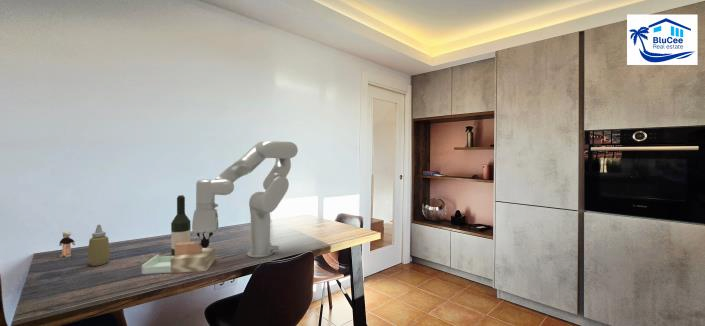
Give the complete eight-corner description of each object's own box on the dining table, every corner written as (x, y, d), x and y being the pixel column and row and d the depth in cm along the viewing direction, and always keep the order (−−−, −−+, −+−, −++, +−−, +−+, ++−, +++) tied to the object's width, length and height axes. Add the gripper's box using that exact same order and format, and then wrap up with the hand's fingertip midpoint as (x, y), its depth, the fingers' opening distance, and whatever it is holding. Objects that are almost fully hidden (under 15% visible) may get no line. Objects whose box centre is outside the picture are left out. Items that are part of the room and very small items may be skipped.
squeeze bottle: (114, 262, 136) (114, 223, 135) (94, 268, 128) (94, 227, 128) (103, 260, 138) (103, 222, 138) (82, 265, 131) (82, 226, 130)
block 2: (202, 251, 133) (202, 241, 133) (199, 253, 129) (199, 243, 129) (190, 251, 132) (190, 241, 132) (187, 254, 128) (187, 244, 128)
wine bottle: (181, 258, 141) (181, 196, 140) (167, 257, 142) (166, 196, 142) (194, 253, 149) (194, 194, 149) (180, 252, 151) (180, 194, 150)
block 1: (190, 251, 132) (190, 241, 132) (187, 254, 128) (187, 244, 128) (178, 252, 131) (178, 242, 131) (174, 255, 127) (174, 244, 127)
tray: (183, 261, 136) (183, 253, 136) (170, 273, 122) (170, 263, 122) (157, 263, 134) (157, 254, 134) (141, 274, 120) (141, 265, 120)
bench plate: (215, 259, 139) (215, 247, 139) (206, 270, 125) (206, 256, 125) (183, 261, 136) (183, 248, 136) (170, 273, 122) (170, 258, 122)
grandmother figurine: (54, 258, 141) (54, 232, 141) (60, 255, 145) (60, 230, 145) (73, 257, 143) (72, 231, 142) (78, 254, 146) (78, 229, 146)
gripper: (225, 205, 136) (224, 244, 136) (190, 205, 133) (190, 245, 134) (220, 207, 129) (220, 249, 129) (184, 208, 126) (183, 250, 126)
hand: (205, 247), depth 131 cm, fingers closed
